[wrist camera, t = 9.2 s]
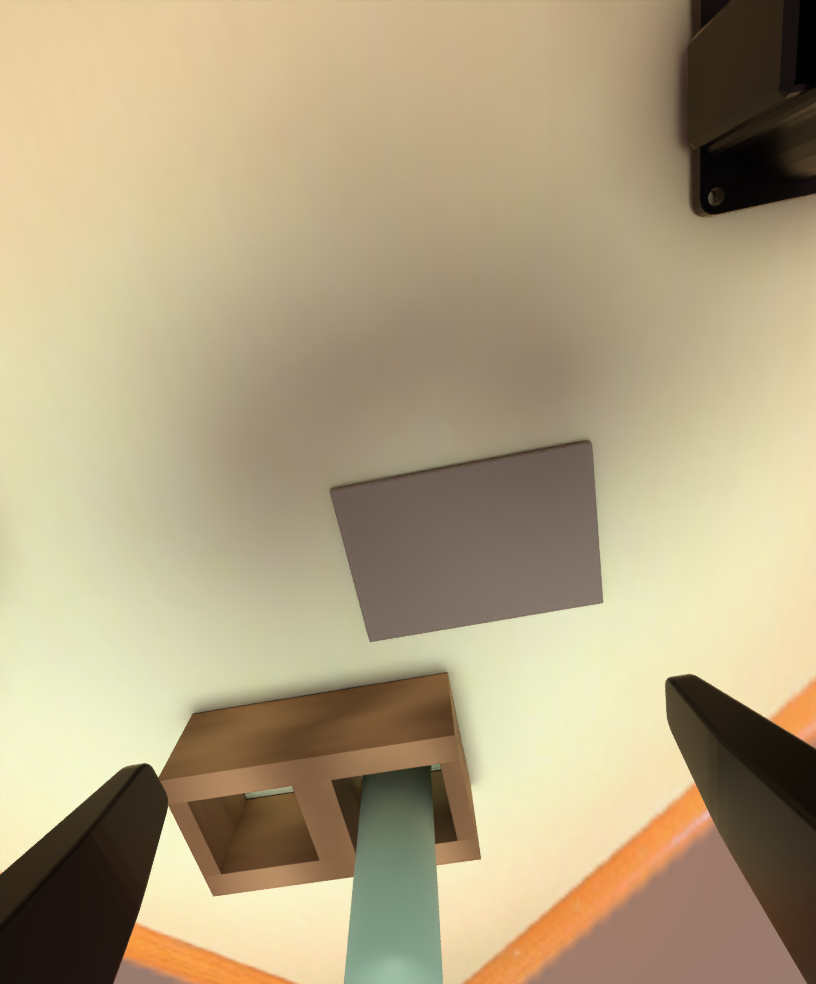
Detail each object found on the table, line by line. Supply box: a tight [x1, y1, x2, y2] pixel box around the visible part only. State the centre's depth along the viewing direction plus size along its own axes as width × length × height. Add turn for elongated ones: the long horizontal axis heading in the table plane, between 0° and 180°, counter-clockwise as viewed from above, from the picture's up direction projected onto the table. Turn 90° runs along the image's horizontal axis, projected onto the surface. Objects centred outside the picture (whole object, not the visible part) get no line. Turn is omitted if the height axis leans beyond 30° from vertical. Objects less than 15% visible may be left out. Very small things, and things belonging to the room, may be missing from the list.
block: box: [159, 673, 481, 896], centre depth 22 cm, size 12×7×4 cm, turn 101°
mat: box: [330, 441, 603, 642], centre depth 20 cm, size 10×7×1 cm
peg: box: [344, 765, 443, 984], centre depth 19 cm, size 3×3×9 cm
